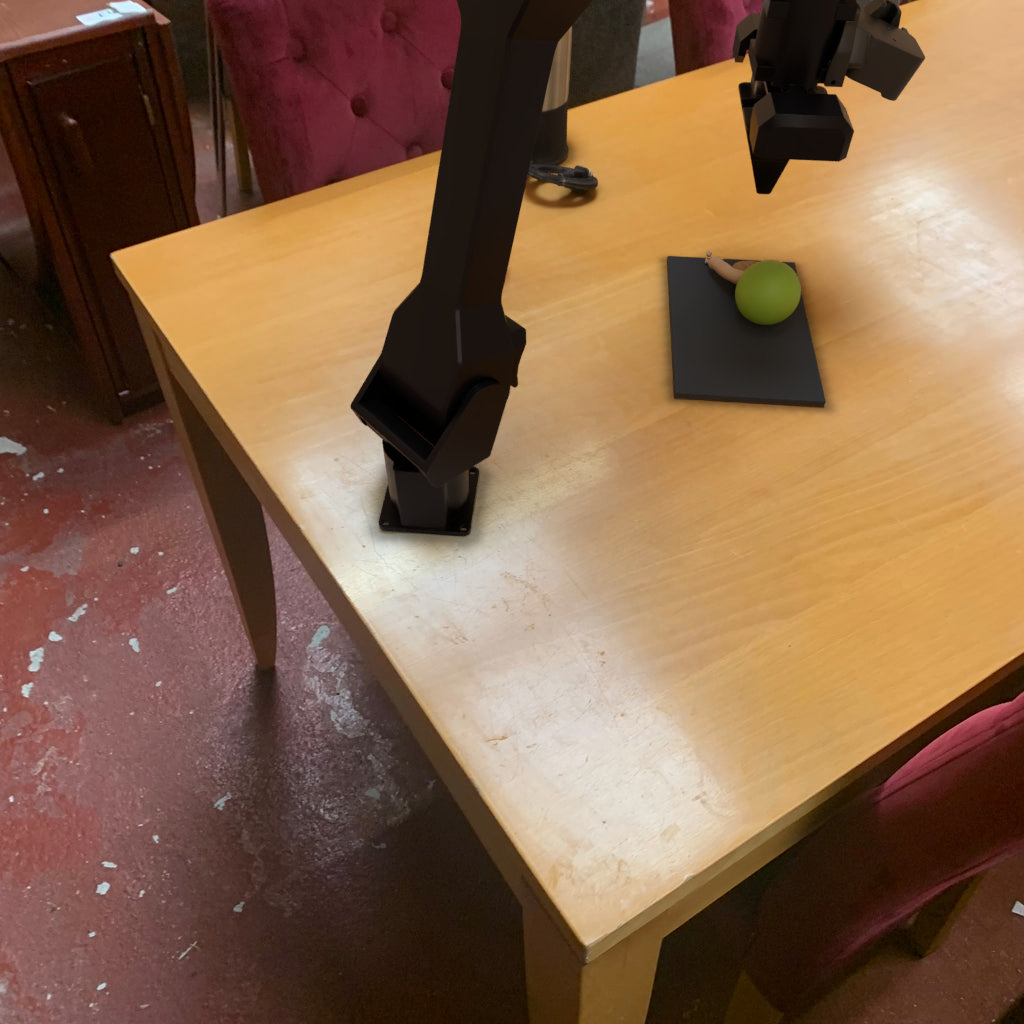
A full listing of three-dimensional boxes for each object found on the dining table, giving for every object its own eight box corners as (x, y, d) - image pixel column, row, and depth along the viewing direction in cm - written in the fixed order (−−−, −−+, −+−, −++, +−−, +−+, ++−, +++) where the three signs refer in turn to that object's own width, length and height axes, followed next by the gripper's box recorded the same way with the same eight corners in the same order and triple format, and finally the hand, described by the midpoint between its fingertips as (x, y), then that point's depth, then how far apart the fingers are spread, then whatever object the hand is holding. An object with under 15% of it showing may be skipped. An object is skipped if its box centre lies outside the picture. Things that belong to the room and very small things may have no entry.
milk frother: (514, 125, 104) (515, -15, 93) (636, 159, 99) (652, 15, 88) (446, 177, 96) (438, 30, 85) (575, 217, 91) (585, 66, 80)
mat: (824, 407, 72) (826, 401, 71) (673, 398, 72) (675, 392, 72) (793, 267, 85) (794, 262, 84) (666, 261, 85) (667, 255, 85)
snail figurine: (724, 328, 75) (697, 284, 85) (797, 338, 76) (762, 292, 86) (741, 265, 72) (711, 227, 82) (817, 275, 73) (778, 236, 83)
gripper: (972, 32, 53) (888, 262, 64) (907, -68, 65) (846, 141, 77) (782, 25, 53) (733, 254, 65) (752, -72, 66) (716, 136, 77)
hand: (762, 191), depth 71 cm, fingers closed
